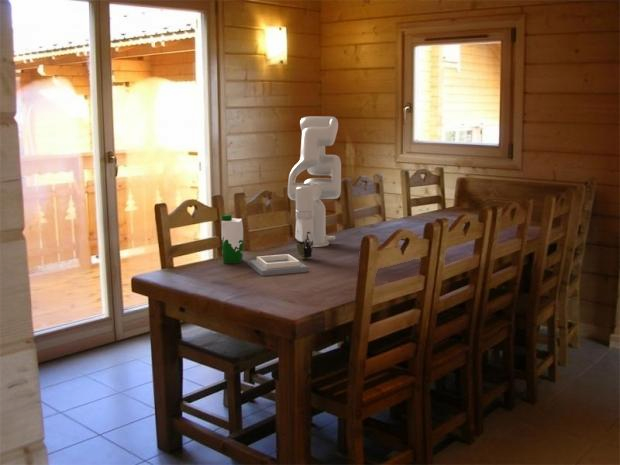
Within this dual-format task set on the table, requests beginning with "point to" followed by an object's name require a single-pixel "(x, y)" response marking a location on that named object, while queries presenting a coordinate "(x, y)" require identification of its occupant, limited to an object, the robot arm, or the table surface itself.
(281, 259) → the stand
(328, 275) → the table surface
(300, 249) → the cup
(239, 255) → the milk carton
